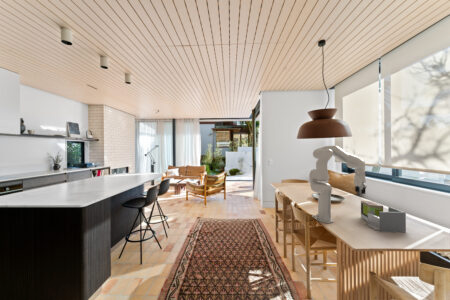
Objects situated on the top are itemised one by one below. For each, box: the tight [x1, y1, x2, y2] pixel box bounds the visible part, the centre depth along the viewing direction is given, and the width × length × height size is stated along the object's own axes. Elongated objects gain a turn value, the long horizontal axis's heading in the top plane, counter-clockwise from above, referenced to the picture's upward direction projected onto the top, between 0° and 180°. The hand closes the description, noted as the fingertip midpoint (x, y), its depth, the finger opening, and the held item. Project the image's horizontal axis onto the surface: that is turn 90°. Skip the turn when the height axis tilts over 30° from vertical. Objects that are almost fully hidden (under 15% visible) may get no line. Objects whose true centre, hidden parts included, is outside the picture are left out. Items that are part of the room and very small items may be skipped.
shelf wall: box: [379, 206, 407, 233], centre depth 145 cm, size 17×14×14 cm
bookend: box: [364, 213, 381, 232], centre depth 146 cm, size 4×13×9 cm, turn 176°
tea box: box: [360, 200, 384, 222], centre depth 160 cm, size 15×10×15 cm, turn 168°
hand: (360, 192), depth 175 cm, fingers open, 8 cm apart
